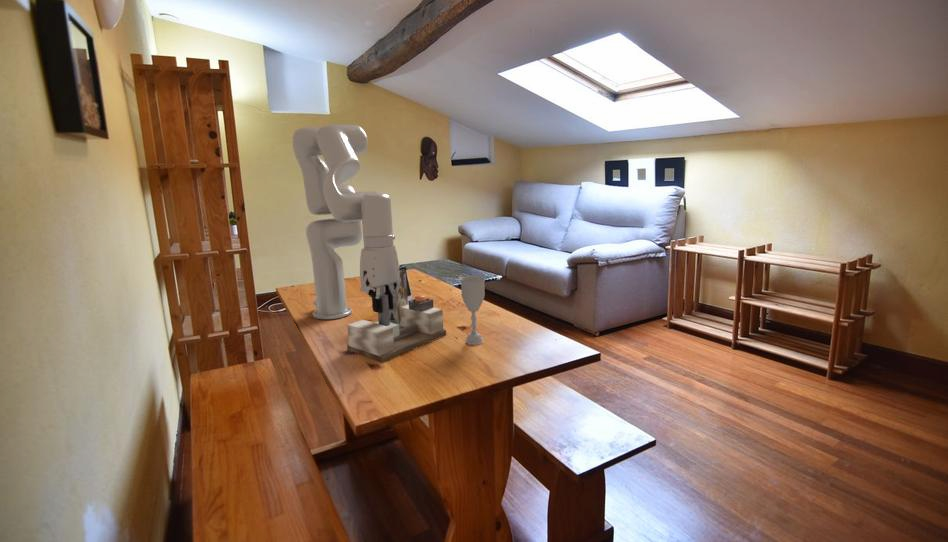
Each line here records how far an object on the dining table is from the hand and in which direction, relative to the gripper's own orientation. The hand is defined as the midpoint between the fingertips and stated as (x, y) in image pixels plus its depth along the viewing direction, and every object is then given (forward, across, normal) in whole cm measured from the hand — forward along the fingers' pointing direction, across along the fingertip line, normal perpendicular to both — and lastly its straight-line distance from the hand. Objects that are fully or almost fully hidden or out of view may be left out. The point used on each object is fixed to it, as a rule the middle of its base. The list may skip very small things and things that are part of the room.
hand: (383, 309), depth 130 cm
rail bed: (+11, -5, 0) cm, 12 cm away
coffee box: (+11, -16, -14) cm, 24 cm away
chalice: (+11, -17, +17) cm, 26 cm away
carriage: (+7, 0, 0) cm, 7 cm away
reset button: (+2, -14, 0) cm, 14 cm away
